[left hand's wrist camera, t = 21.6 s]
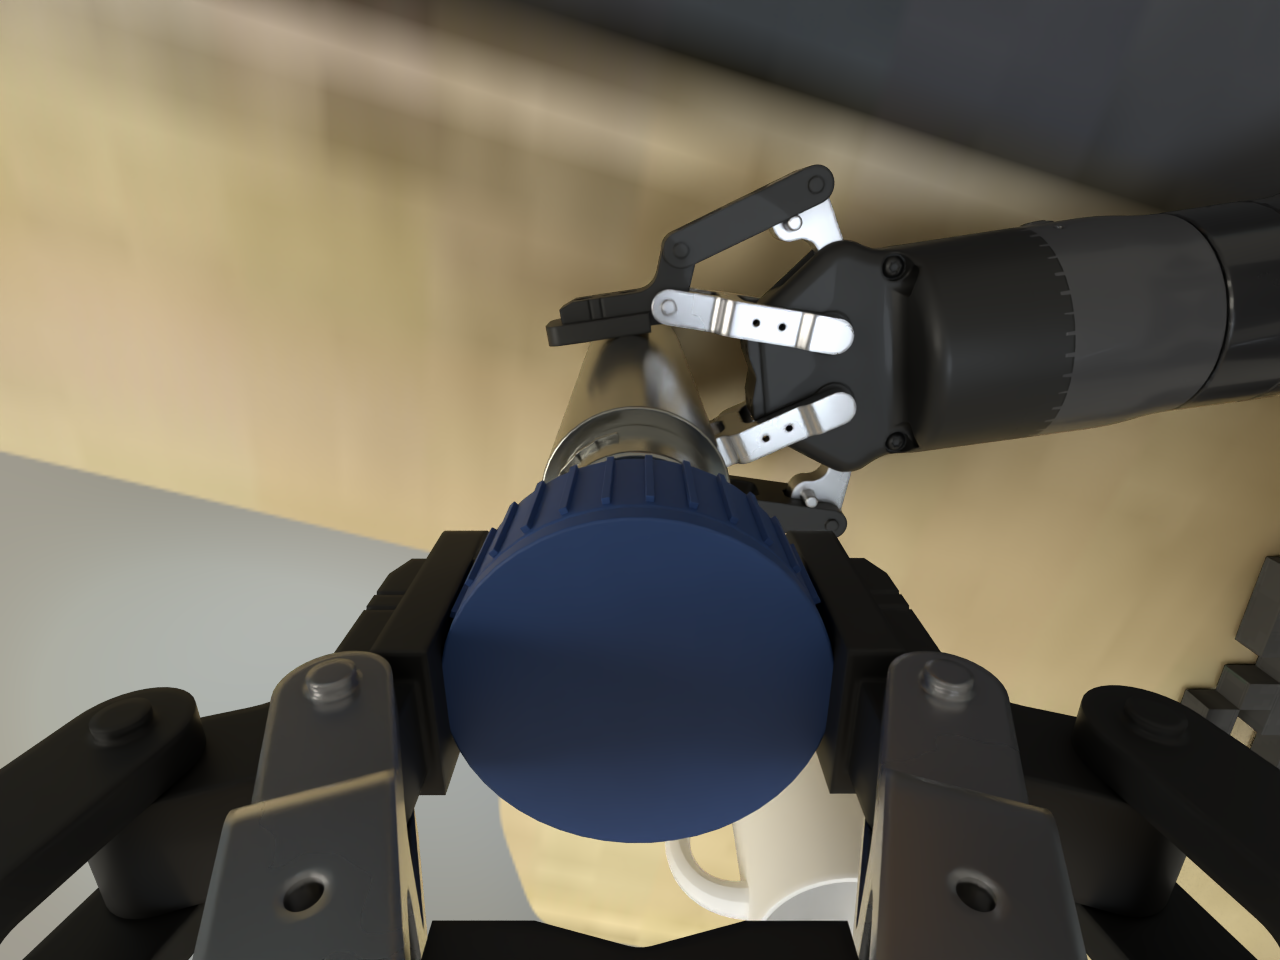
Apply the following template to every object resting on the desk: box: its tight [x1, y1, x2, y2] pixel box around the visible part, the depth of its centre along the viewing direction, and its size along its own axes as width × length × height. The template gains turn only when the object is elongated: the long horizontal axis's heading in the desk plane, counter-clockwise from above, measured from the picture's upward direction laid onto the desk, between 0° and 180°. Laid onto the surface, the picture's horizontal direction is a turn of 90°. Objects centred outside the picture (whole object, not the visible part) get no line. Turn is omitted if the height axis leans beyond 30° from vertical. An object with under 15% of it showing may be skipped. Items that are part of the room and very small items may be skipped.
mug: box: [665, 751, 865, 937], centre depth 35 cm, size 12×8×10 cm
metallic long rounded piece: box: [542, 324, 730, 483], centre depth 23 cm, size 4×4×19 cm
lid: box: [442, 455, 834, 843], centre depth 10 cm, size 5×5×2 cm
